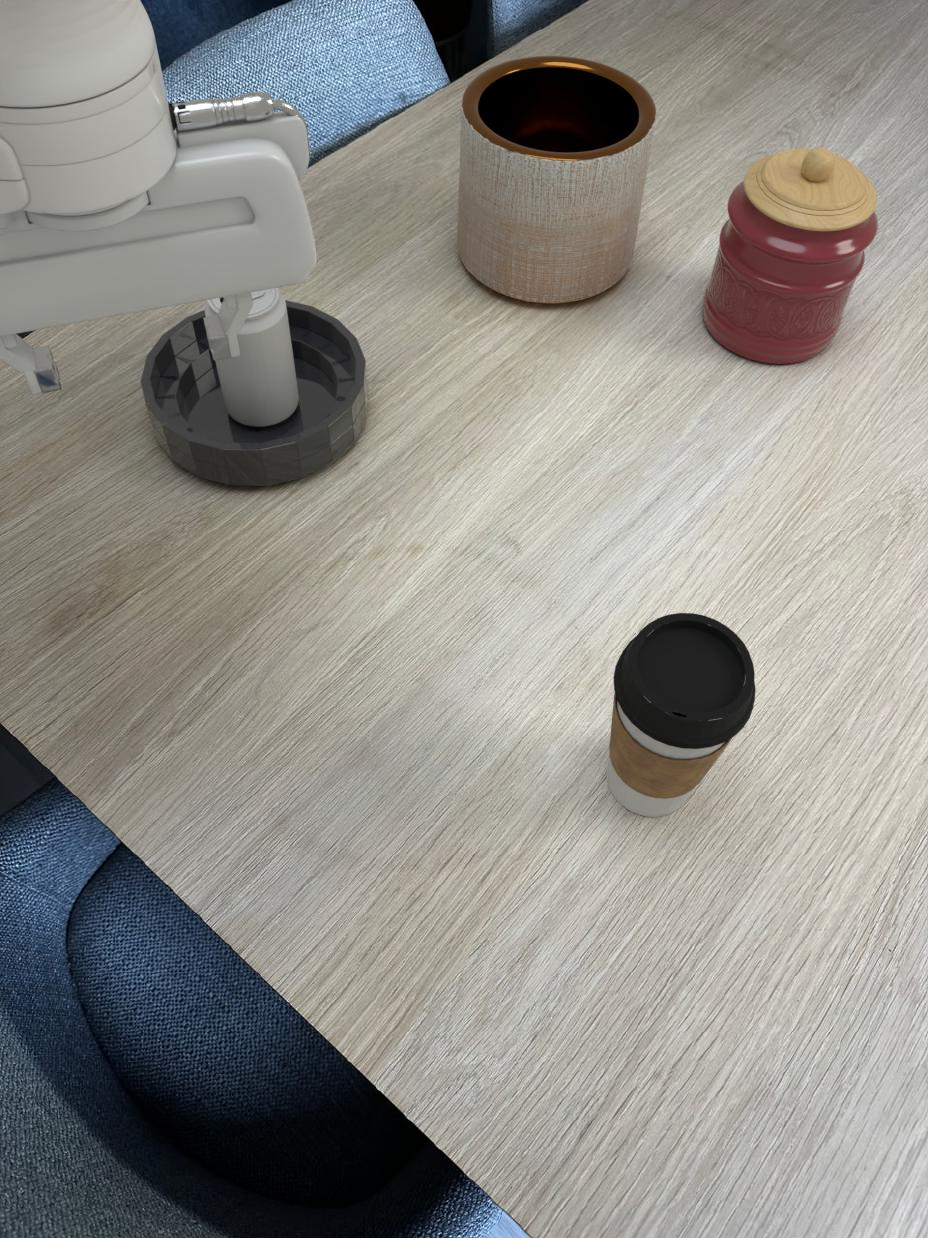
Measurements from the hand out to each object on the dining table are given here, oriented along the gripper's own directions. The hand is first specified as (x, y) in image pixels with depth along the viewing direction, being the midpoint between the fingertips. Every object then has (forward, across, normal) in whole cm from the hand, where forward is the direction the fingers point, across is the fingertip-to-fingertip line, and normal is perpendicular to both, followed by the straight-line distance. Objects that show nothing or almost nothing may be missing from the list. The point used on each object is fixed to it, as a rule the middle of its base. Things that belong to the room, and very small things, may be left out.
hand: (137, 367), depth 56 cm
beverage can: (+26, -8, -23) cm, 36 cm away
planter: (+27, -40, -37) cm, 61 cm away
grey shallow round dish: (+27, -8, -23) cm, 36 cm away
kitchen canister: (+26, -57, -21) cm, 66 cm away
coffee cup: (+26, -26, +20) cm, 42 cm away
